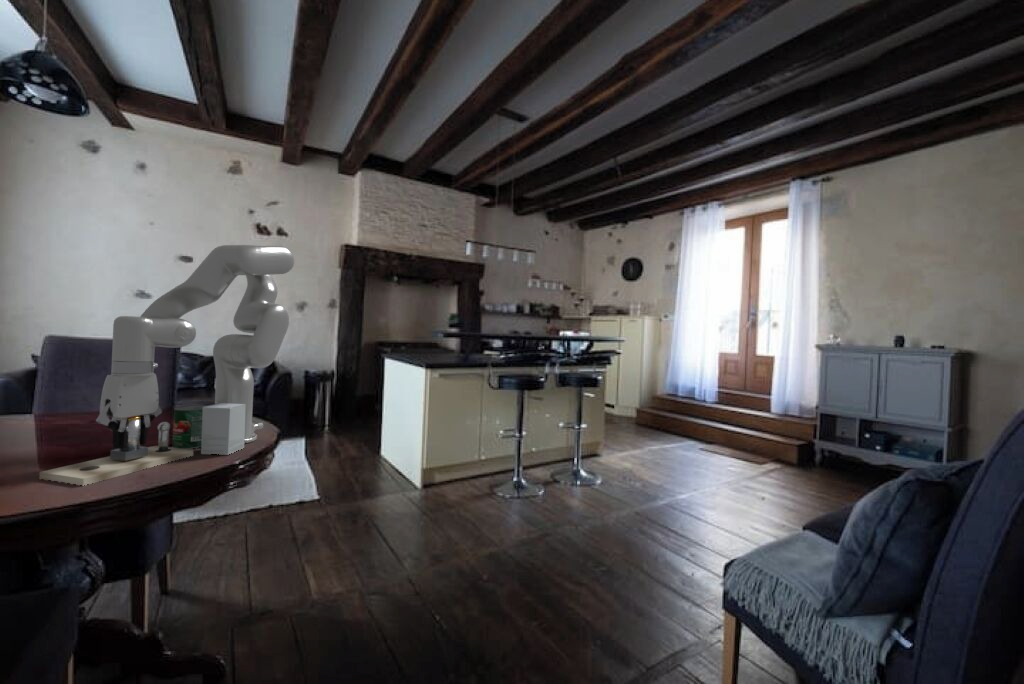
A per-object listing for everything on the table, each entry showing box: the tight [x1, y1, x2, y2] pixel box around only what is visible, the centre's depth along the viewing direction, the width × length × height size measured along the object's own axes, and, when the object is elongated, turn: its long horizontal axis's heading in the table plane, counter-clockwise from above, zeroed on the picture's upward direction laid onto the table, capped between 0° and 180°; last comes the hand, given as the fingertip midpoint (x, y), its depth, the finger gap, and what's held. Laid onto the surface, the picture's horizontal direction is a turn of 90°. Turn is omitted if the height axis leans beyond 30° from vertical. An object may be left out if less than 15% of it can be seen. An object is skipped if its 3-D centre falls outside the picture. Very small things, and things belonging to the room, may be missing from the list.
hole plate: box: [39, 445, 194, 487], centre depth 100 cm, size 24×12×2 cm, turn 168°
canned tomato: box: [171, 404, 209, 450], centre depth 120 cm, size 8×8×11 cm
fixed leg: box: [157, 421, 172, 451], centre depth 109 cm, size 3×3×7 cm
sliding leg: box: [109, 416, 149, 461], centre depth 101 cm, size 5×4×10 cm
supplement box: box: [200, 403, 246, 456], centre depth 116 cm, size 7×7×13 cm
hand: (129, 445), depth 101 cm, fingers closed on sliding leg, 3 cm apart
